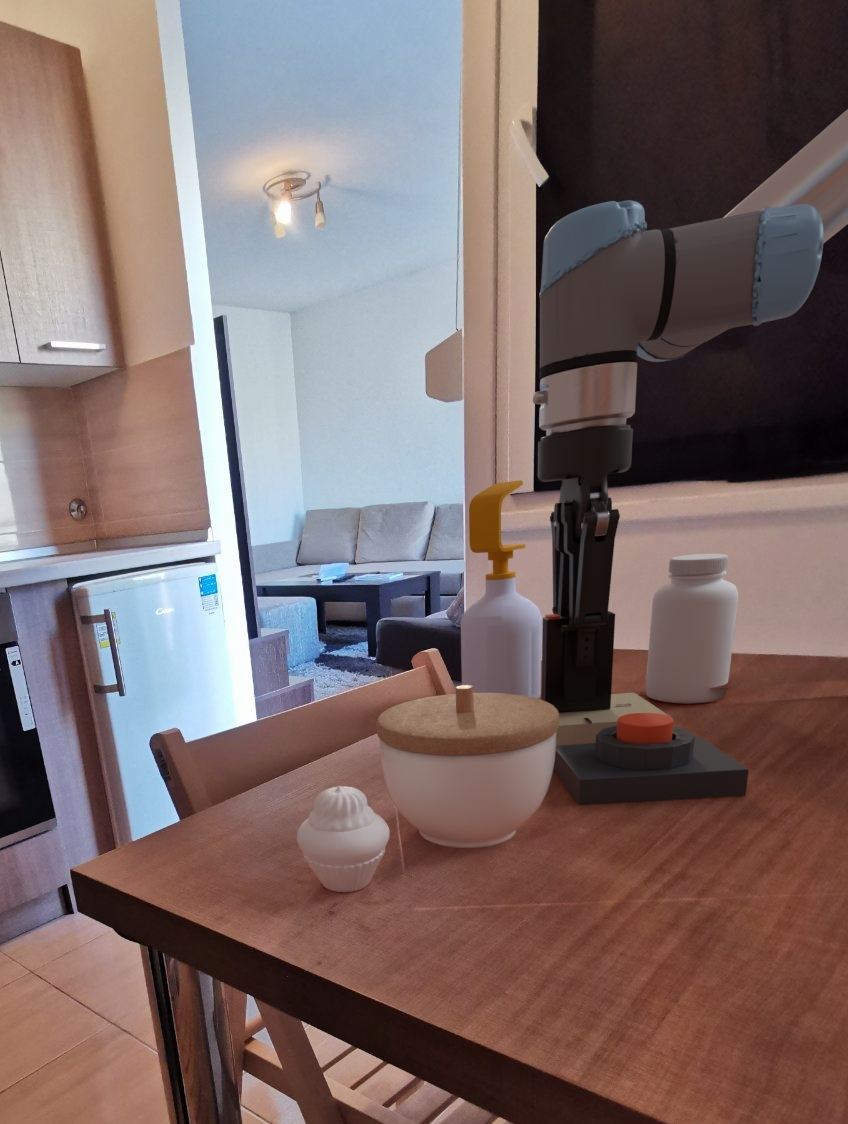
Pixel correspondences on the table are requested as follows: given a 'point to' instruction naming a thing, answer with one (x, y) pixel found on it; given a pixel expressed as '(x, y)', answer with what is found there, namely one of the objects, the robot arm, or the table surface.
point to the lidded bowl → (468, 763)
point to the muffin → (343, 839)
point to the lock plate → (599, 719)
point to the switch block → (648, 770)
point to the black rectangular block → (555, 665)
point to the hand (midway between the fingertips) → (575, 694)
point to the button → (645, 728)
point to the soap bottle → (499, 611)
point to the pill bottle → (692, 631)
